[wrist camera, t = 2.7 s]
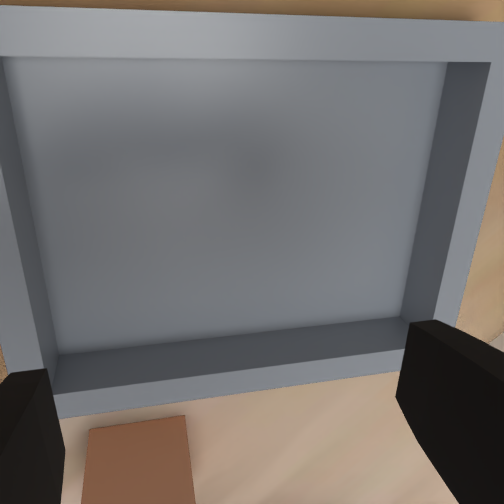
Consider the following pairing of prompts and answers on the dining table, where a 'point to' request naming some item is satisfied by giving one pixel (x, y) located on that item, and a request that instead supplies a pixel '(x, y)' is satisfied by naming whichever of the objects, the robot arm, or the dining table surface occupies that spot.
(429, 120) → the tray
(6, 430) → the robot arm
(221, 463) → the dining table surface
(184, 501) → the block
